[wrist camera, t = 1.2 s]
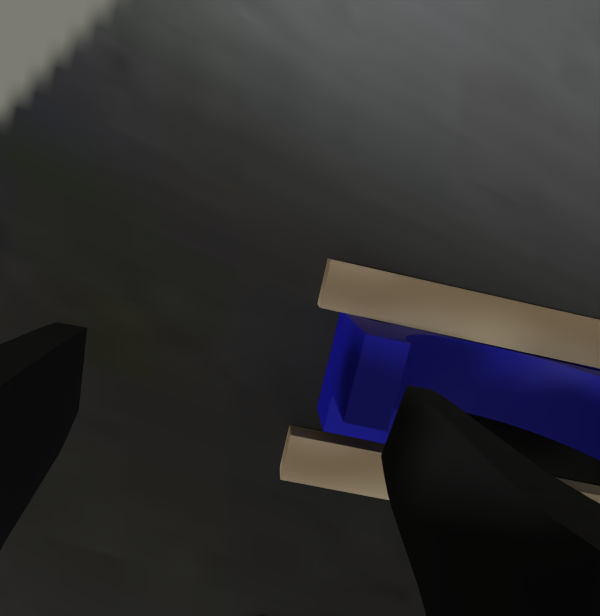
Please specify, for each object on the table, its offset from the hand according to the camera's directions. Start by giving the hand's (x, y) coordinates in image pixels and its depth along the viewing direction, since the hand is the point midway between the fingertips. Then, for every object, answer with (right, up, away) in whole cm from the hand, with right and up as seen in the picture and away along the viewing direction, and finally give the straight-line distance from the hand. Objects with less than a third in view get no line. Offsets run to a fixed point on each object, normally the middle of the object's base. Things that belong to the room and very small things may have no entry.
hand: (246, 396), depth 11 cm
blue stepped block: (+8, -2, +12) cm, 14 cm away
